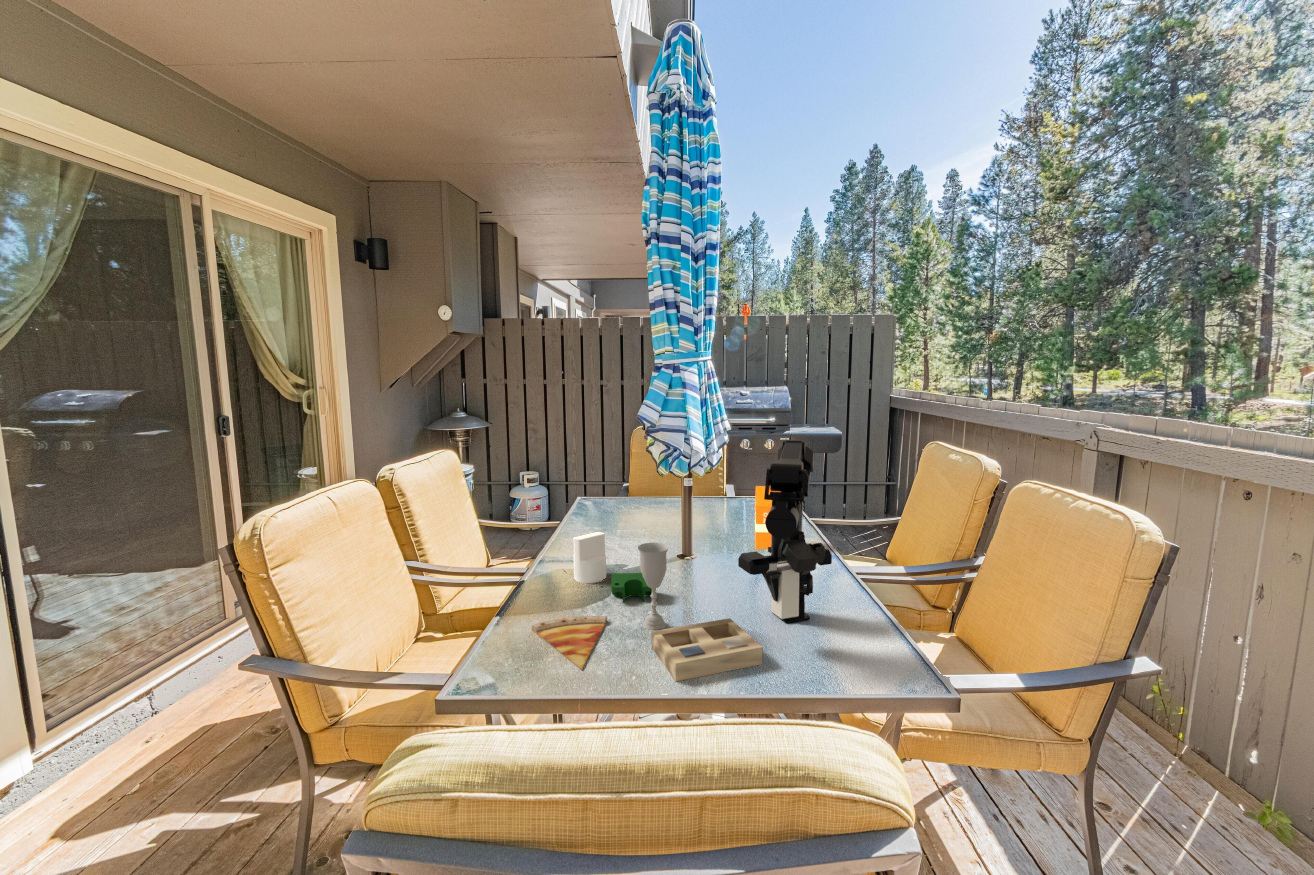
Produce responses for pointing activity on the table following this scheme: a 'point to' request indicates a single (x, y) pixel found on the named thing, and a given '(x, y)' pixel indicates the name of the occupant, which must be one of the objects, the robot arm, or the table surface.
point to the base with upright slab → (589, 558)
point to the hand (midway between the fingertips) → (784, 599)
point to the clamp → (629, 585)
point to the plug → (786, 593)
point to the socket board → (705, 649)
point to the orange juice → (762, 519)
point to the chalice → (653, 578)
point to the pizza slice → (572, 636)
